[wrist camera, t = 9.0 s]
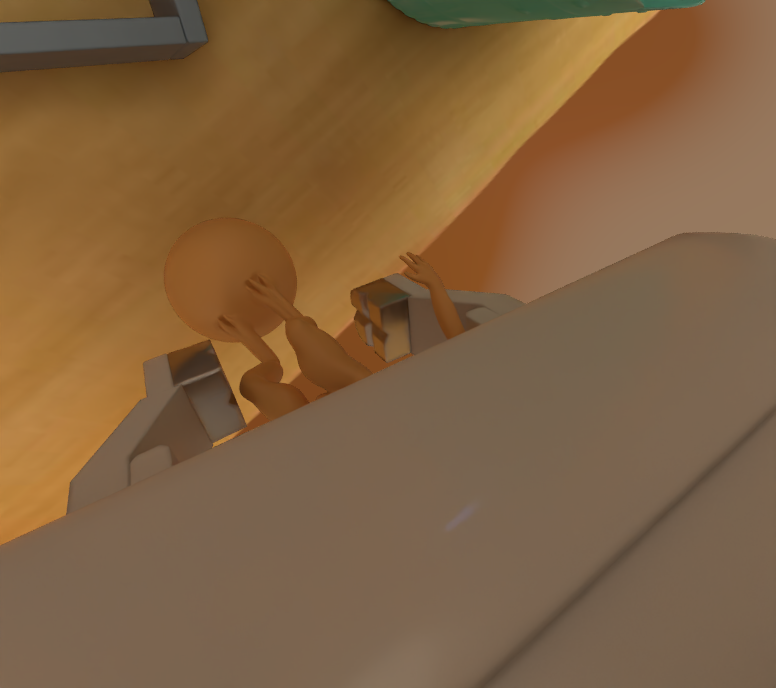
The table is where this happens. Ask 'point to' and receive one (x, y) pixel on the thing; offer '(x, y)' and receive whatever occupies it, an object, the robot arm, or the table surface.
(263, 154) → the table surface
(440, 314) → the figurine
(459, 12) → the basket
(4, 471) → the table surface
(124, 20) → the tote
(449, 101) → the table surface
